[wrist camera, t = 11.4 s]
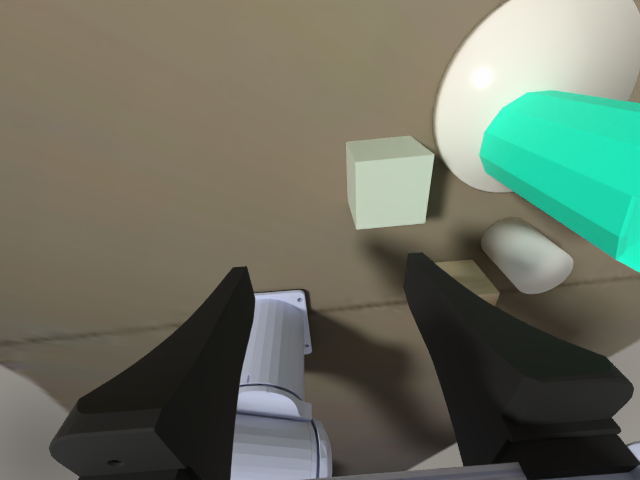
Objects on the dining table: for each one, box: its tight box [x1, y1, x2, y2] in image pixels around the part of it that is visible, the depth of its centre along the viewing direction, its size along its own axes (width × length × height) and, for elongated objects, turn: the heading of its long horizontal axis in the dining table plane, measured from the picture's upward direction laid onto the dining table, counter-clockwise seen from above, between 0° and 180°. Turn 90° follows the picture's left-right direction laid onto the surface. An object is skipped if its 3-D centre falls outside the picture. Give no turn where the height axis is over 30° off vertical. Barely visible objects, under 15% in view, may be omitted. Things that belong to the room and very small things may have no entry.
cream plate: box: [432, 0, 640, 192], centre depth 18 cm, size 12×12×1 cm
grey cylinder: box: [481, 217, 573, 294], centre depth 23 cm, size 4×4×5 cm
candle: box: [479, 90, 640, 272], centre depth 14 cm, size 6×6×12 cm
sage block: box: [346, 136, 434, 230], centre depth 19 cm, size 4×4×4 cm
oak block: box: [435, 259, 500, 306], centre depth 26 cm, size 4×4×4 cm
